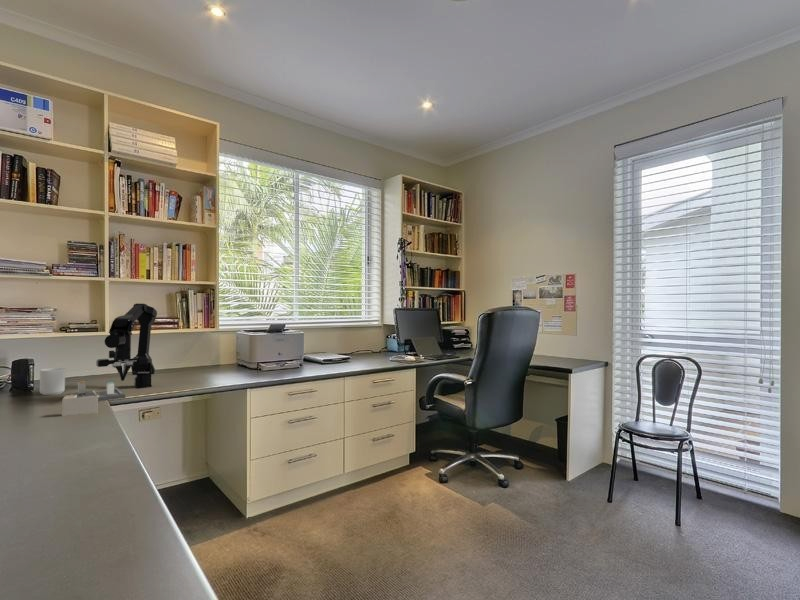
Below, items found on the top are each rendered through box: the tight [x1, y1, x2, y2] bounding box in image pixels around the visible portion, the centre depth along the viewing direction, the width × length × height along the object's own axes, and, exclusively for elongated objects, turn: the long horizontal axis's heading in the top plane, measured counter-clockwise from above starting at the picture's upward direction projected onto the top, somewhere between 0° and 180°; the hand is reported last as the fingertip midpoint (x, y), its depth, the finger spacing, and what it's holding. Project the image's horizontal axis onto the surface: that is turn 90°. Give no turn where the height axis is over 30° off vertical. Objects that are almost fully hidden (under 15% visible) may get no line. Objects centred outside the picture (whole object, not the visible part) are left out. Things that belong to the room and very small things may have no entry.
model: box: [61, 393, 99, 417], centre depth 155 cm, size 3×11×8 cm, turn 118°
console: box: [65, 386, 126, 402], centre depth 181 cm, size 19×18×2 cm
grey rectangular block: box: [77, 380, 87, 394], centre depth 182 cm, size 2×4×5 cm, turn 43°
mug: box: [39, 367, 66, 396], centre depth 190 cm, size 12×9×11 cm
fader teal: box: [105, 381, 115, 395], centre depth 181 cm, size 2×4×5 cm, turn 43°
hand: (122, 380), depth 184 cm, fingers closed
